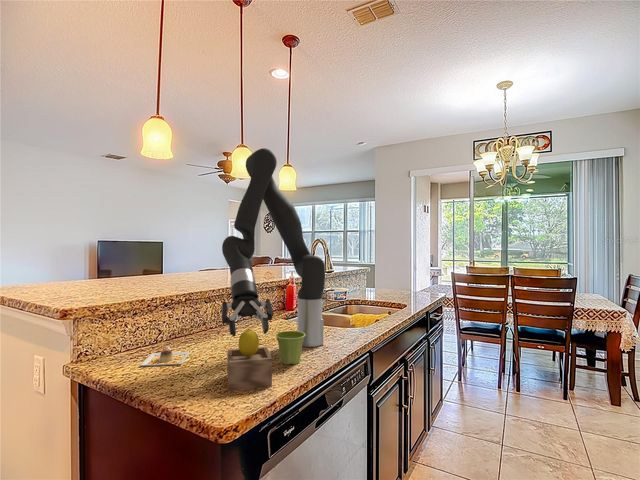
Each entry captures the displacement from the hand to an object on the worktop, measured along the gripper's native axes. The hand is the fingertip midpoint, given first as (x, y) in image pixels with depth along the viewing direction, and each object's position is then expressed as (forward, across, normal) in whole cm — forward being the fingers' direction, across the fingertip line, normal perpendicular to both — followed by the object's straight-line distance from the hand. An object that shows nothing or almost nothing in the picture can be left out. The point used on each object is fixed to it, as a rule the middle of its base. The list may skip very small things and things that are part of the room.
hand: (250, 333), depth 95 cm
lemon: (+5, 0, +5) cm, 7 cm away
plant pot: (+2, +15, +17) cm, 22 cm away
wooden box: (+9, 0, +9) cm, 13 cm away
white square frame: (-9, -22, +28) cm, 37 cm away
